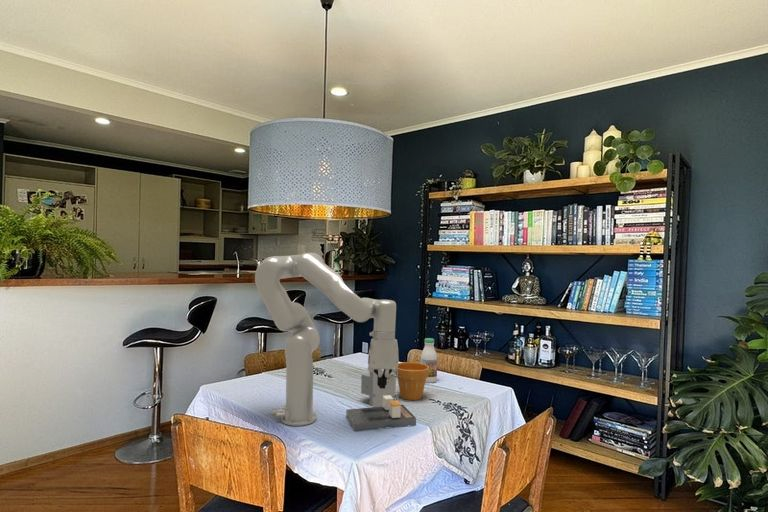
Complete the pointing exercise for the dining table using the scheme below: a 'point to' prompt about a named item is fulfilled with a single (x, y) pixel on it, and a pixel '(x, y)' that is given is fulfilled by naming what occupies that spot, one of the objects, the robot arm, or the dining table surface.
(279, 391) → the dining table surface
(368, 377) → the circuit breaker
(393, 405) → the lever
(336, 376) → the dining table surface
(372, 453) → the dining table surface
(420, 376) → the flower pot
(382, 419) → the slotted slider board
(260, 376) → the dining table surface
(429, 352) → the milk bottle
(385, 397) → the on lever
